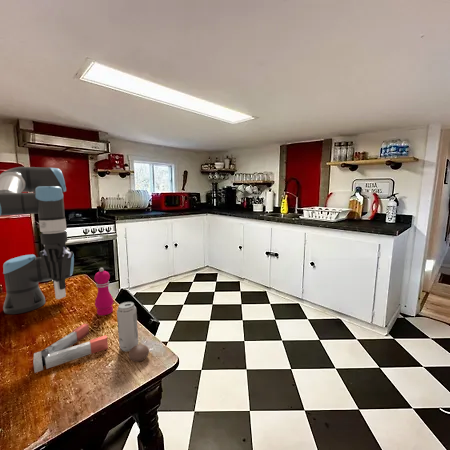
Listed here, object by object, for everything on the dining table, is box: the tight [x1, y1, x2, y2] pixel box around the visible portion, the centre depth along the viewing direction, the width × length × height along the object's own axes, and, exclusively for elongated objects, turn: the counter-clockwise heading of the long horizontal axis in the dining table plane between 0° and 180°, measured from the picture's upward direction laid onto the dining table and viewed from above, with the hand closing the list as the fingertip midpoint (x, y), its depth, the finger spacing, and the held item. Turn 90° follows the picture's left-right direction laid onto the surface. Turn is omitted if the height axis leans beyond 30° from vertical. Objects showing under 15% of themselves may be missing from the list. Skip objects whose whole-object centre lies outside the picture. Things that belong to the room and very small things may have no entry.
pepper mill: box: [93, 267, 114, 316], centre depth 109 cm, size 7×7×20 cm
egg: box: [128, 343, 150, 362], centre depth 79 cm, size 6×6×4 cm
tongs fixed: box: [32, 334, 109, 374], centre depth 81 cm, size 20×5×4 cm, turn 125°
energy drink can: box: [116, 301, 139, 352], centre depth 84 cm, size 6×6×15 cm
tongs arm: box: [45, 323, 90, 354], centre depth 86 cm, size 16×2×4 cm, turn 163°
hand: (60, 297), depth 90 cm, fingers closed
